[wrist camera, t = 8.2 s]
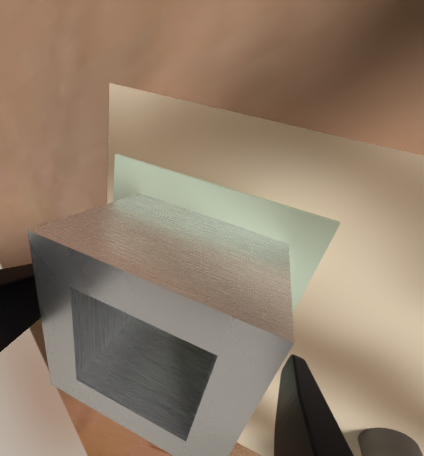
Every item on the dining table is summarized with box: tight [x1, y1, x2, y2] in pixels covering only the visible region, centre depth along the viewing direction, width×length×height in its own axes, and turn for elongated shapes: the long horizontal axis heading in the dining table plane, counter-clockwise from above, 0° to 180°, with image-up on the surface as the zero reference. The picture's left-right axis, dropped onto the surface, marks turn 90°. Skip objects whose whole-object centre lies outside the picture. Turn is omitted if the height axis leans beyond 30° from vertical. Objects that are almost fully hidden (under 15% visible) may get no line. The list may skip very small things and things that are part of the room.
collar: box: [28, 193, 294, 456], centre depth 8 cm, size 6×6×4 cm
